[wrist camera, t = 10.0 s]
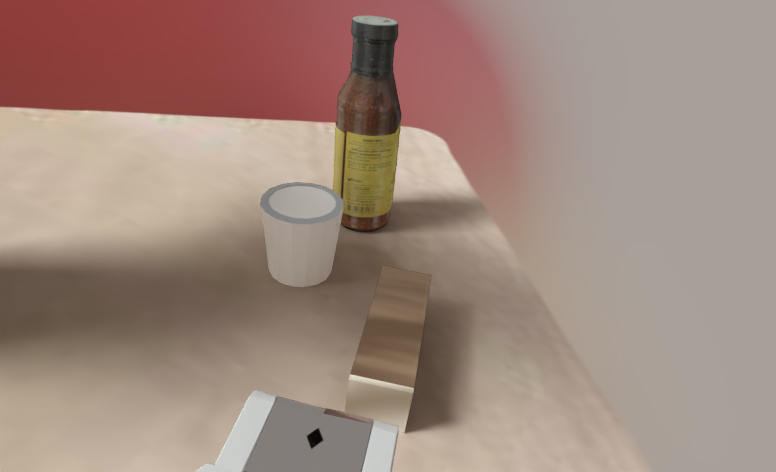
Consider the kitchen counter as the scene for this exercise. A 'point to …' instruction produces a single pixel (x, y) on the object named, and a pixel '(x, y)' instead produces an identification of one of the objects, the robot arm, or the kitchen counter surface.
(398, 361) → the walnut block
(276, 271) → the white tapered cylinder
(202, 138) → the kitchen counter surface
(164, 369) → the kitchen counter surface
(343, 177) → the sauce bottle
